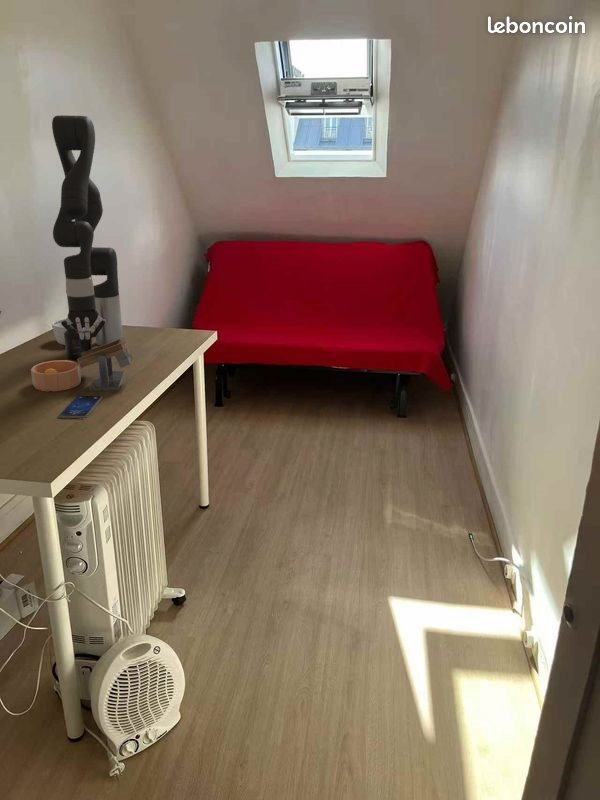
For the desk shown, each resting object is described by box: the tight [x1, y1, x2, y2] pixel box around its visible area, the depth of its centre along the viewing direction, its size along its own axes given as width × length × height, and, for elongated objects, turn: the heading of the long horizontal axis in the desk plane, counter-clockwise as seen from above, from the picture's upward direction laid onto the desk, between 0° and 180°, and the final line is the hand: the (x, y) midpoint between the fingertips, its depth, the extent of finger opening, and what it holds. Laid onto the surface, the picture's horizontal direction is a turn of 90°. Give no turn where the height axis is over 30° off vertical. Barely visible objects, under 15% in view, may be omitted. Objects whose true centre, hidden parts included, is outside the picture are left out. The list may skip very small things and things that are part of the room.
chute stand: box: [88, 355, 125, 392], centre depth 173 cm, size 14×8×10 cm, turn 9°
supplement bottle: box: [64, 321, 86, 361], centre depth 194 cm, size 7×7×12 cm
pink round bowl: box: [30, 359, 82, 392], centre depth 172 cm, size 13×13×5 cm
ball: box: [44, 369, 58, 373], centre depth 172 cm, size 4×4×4 cm
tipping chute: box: [76, 337, 134, 369], centre depth 176 cm, size 15×13×7 cm
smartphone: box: [58, 394, 104, 420], centre depth 157 cm, size 7×1×15 cm
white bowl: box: [51, 318, 85, 346], centre depth 213 cm, size 13×13×7 cm
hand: (87, 350), depth 179 cm, fingers closed
